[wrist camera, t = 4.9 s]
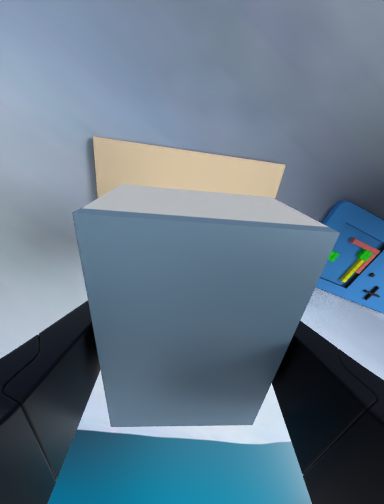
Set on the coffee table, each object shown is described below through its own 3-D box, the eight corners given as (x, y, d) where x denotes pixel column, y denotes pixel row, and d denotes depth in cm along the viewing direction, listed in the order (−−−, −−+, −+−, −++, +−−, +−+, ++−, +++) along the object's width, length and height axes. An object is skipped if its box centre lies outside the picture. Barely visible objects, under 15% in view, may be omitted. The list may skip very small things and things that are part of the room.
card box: (231, 345, 12) (252, 424, 9) (132, 343, 12) (111, 426, 8) (271, 197, 8) (340, 232, 5) (122, 184, 8) (72, 213, 4)
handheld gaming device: (391, 317, 23) (287, 277, 20) (382, 310, 24) (282, 271, 21) (457, 260, 20) (347, 199, 16) (444, 254, 21) (337, 196, 17)
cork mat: (282, 164, 16) (285, 164, 15) (244, 287, 21) (246, 291, 20) (96, 136, 14) (92, 136, 14) (106, 277, 19) (104, 280, 19)
